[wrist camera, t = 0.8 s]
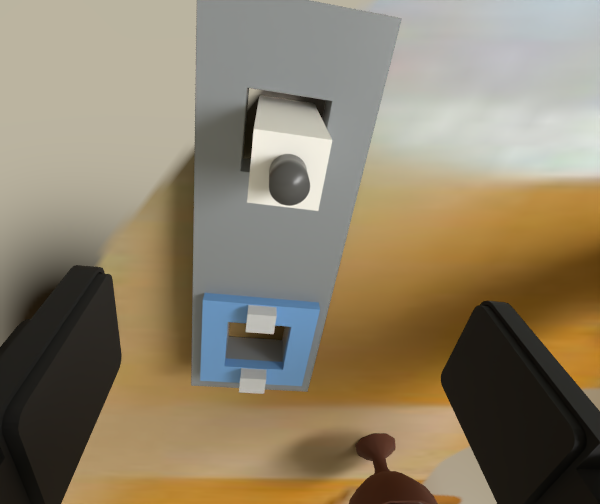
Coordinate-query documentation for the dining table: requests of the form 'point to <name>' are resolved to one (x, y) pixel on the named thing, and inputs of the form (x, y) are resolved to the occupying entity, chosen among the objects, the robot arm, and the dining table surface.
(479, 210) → the dining table surface
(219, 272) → the board
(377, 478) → the ice cream bowl
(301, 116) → the cord plug
